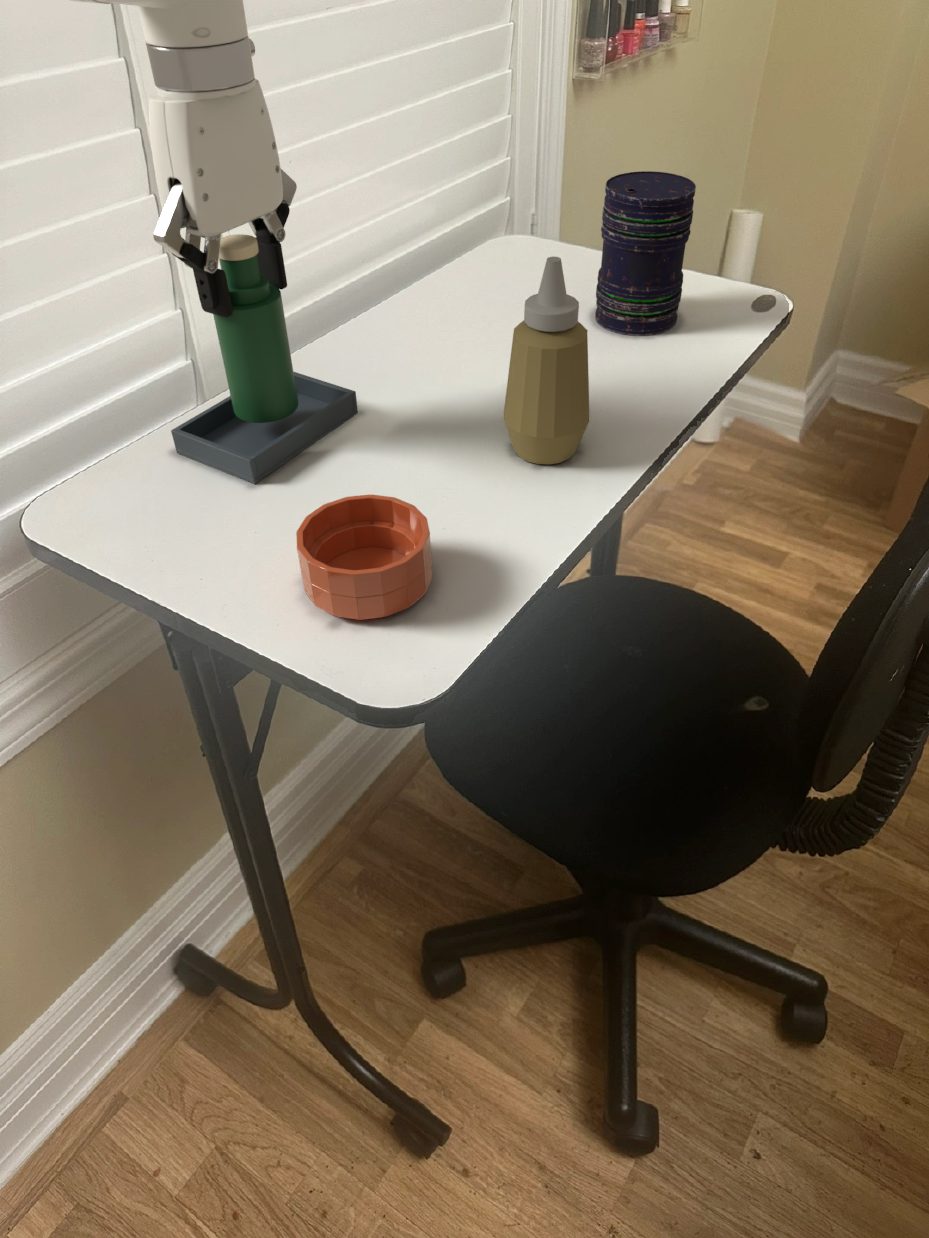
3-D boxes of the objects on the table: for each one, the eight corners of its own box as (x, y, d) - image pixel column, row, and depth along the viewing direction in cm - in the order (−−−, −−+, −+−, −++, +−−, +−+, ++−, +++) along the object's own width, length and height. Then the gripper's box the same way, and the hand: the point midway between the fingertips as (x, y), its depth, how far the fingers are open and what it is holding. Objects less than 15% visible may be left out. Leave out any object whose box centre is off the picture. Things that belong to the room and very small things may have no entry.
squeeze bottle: (492, 465, 84) (493, 273, 72) (514, 423, 90) (518, 238, 78) (577, 478, 82) (593, 282, 70) (594, 434, 88) (611, 246, 76)
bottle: (232, 426, 85) (196, 257, 75) (235, 394, 90) (200, 231, 79) (298, 419, 86) (271, 252, 75) (298, 388, 90) (272, 226, 80)
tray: (254, 484, 83) (250, 460, 81) (176, 453, 87) (170, 430, 85) (358, 413, 92) (355, 391, 90) (283, 388, 96) (279, 366, 95)
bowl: (306, 632, 68) (297, 580, 64) (304, 551, 75) (295, 501, 72) (439, 617, 69) (436, 565, 65) (423, 539, 76) (420, 489, 73)
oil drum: (637, 294, 113) (651, 165, 103) (695, 321, 107) (716, 186, 97) (576, 315, 109) (585, 183, 99) (633, 344, 103) (649, 206, 93)
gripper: (246, 42, 75) (279, 260, 87) (77, 85, 65) (142, 326, 77) (314, 51, 72) (340, 275, 84) (149, 97, 62) (205, 346, 74)
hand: (245, 297), depth 80 cm, fingers closed on bottle, 6 cm apart
